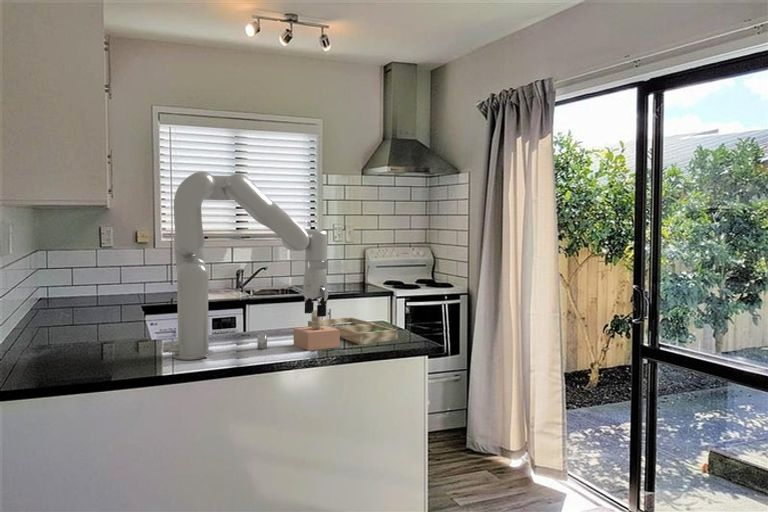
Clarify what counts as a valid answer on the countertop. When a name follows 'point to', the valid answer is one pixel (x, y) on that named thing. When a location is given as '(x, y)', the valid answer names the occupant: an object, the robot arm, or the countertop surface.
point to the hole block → (316, 338)
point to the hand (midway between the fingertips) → (315, 314)
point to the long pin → (316, 321)
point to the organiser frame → (361, 330)
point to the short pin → (261, 341)
